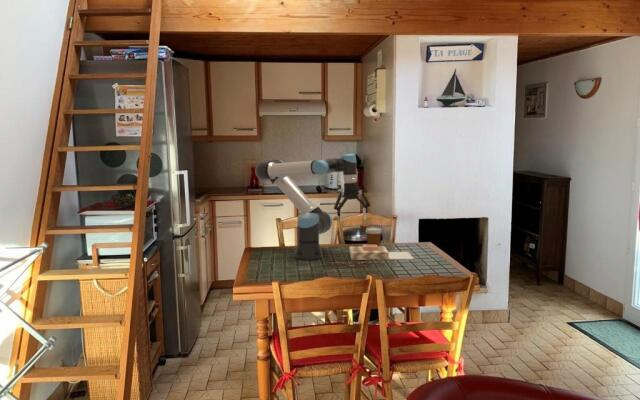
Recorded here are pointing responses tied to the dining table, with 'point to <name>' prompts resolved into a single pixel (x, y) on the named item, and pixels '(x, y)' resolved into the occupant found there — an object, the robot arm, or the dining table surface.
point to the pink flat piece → (370, 247)
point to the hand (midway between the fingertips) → (352, 220)
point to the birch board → (368, 253)
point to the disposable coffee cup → (373, 236)
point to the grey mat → (400, 256)
